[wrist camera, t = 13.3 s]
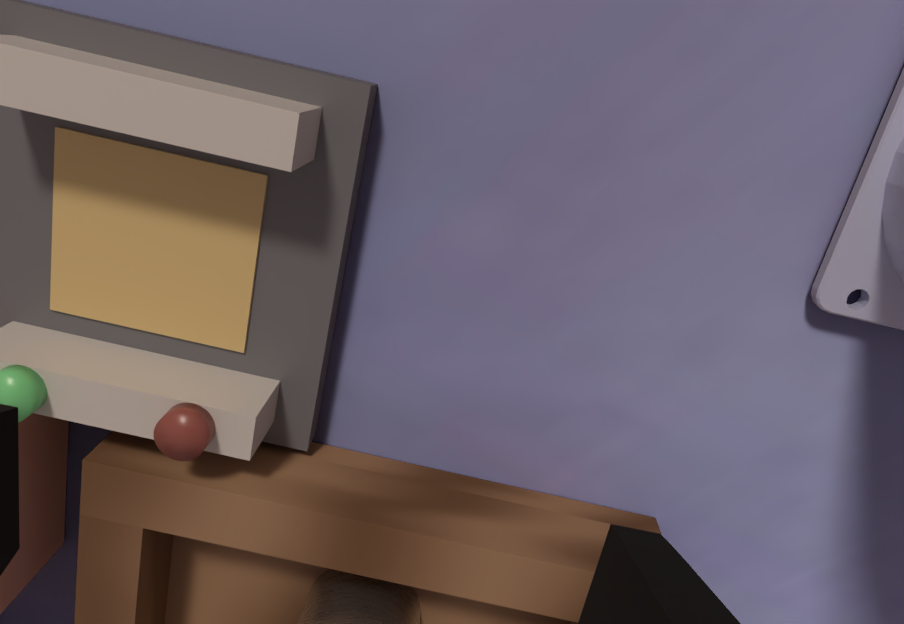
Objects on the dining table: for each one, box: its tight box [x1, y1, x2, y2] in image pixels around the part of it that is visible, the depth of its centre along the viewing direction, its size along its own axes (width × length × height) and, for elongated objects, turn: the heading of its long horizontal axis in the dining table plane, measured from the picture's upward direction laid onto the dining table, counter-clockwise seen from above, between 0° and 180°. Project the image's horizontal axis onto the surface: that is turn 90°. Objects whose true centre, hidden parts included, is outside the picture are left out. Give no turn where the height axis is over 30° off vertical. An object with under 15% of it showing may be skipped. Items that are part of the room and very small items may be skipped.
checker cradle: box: [0, 0, 378, 461], centre depth 16 cm, size 9×10×4 cm
